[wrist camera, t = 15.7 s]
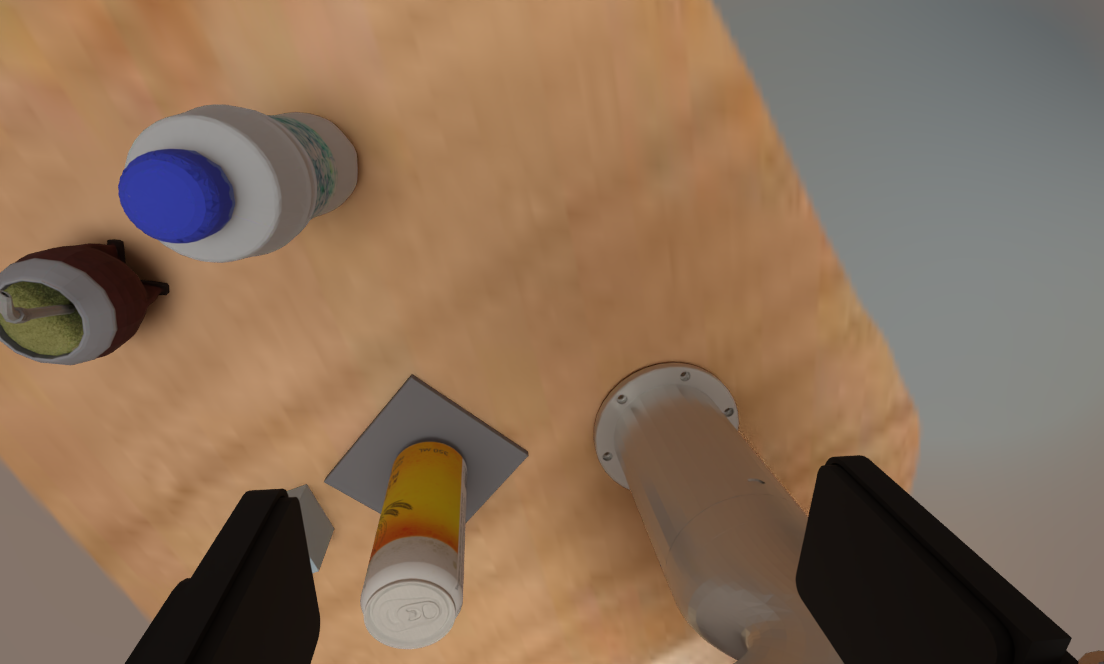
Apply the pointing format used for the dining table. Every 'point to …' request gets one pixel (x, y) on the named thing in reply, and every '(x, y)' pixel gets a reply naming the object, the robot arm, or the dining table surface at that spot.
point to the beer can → (418, 549)
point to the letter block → (313, 525)
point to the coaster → (425, 420)
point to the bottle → (235, 180)
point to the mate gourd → (73, 303)
